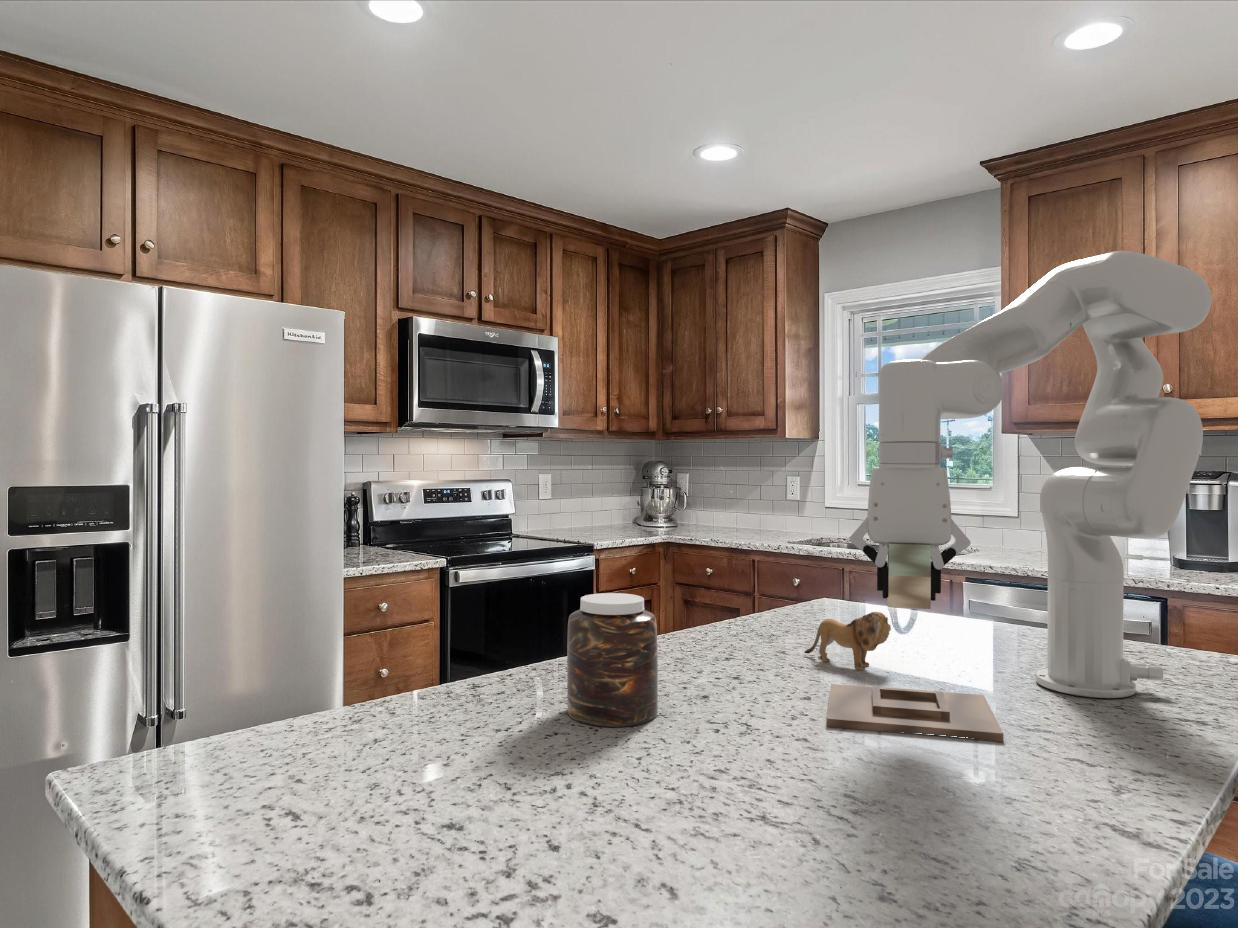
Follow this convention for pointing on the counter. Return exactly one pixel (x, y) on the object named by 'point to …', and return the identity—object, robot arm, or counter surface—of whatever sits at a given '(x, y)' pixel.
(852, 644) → the lion figurine
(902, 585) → the two-tone block
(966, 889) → the counter surface
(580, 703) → the jar
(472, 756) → the counter surface
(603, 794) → the counter surface
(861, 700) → the walnut socket board
